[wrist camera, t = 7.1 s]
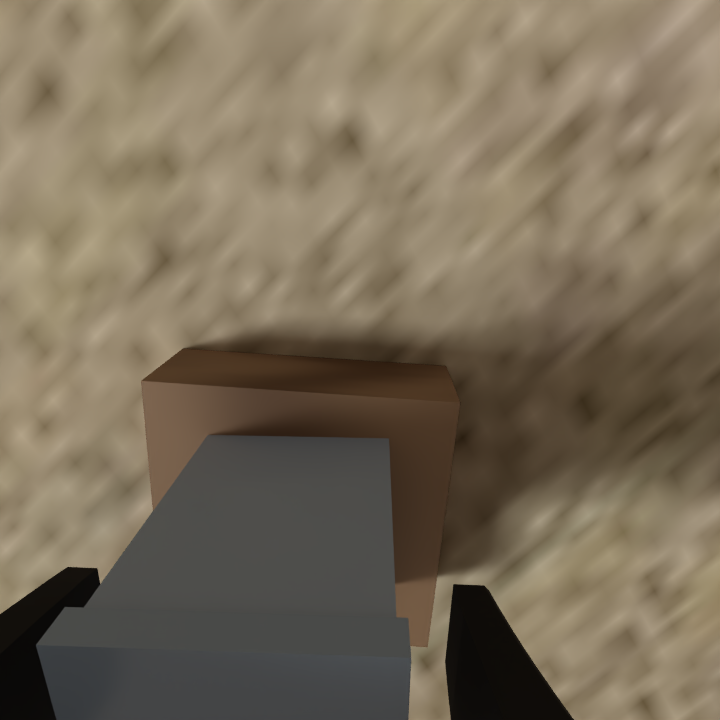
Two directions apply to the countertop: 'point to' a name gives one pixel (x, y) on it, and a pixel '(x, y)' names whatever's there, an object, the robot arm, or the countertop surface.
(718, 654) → the countertop surface
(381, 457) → the grey block
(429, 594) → the walnut block
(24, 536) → the countertop surface
